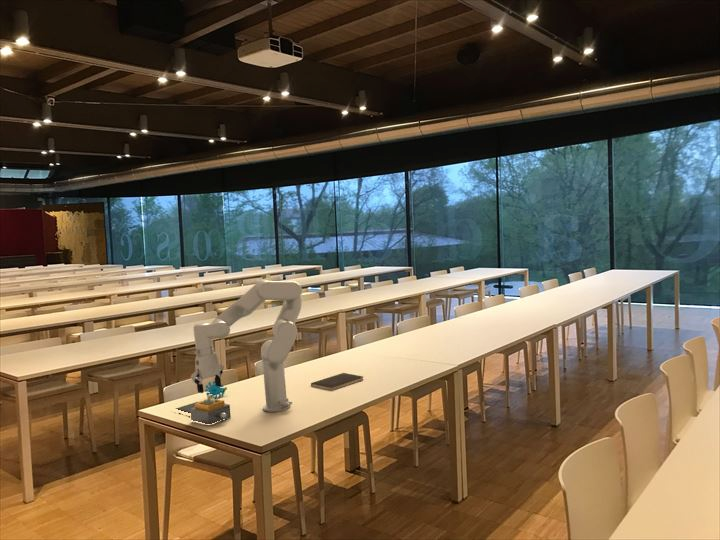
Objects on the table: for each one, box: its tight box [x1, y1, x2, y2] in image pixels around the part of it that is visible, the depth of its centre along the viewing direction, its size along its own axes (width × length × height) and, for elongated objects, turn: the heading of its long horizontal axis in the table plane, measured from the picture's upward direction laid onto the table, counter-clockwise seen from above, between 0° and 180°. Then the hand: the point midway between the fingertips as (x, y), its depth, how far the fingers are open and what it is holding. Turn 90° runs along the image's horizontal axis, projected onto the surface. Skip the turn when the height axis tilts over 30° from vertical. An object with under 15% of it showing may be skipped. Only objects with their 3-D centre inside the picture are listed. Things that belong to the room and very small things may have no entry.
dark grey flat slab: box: [175, 401, 200, 413], centre depth 271 cm, size 20×2×15 cm
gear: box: [204, 380, 228, 399], centre depth 292 cm, size 11×6×10 cm
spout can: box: [202, 394, 215, 406], centre depth 254 cm, size 5×5×11 cm
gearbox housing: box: [190, 398, 232, 424], centre depth 253 cm, size 16×12×8 cm
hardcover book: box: [310, 372, 364, 391], centre depth 301 cm, size 16×23×2 cm
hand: (209, 389), depth 254 cm, fingers open, 9 cm apart
